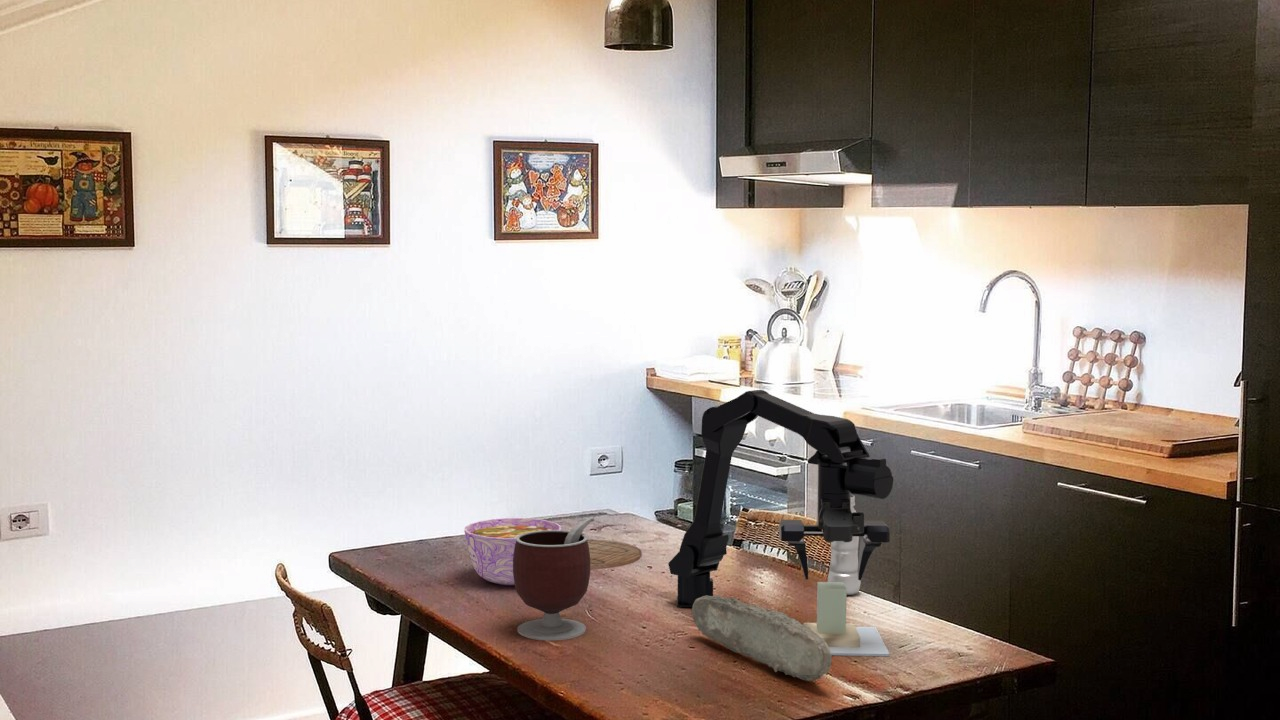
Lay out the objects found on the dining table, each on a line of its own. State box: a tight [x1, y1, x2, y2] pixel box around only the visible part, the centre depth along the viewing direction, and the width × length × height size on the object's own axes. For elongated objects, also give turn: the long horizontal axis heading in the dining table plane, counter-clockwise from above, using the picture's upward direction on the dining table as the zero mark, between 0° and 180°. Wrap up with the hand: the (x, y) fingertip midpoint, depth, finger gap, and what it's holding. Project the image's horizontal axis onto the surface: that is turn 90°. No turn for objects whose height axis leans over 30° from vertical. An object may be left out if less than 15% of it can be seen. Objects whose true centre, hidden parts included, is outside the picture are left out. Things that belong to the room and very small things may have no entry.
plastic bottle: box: [827, 494, 862, 596], centre depth 259 cm, size 6×7×20 cm
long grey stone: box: [691, 595, 833, 682], centre depth 215 cm, size 35×5×10 cm, turn 36°
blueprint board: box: [829, 626, 891, 657], centre depth 228 cm, size 18×16×1 cm
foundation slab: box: [802, 622, 860, 647], centre depth 228 cm, size 9×9×2 cm
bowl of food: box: [463, 517, 562, 586], centre depth 267 cm, size 20×20×12 cm
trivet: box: [587, 539, 643, 570], centre depth 289 cm, size 25×25×2 cm
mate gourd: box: [513, 516, 595, 641], centre depth 233 cm, size 16×14×20 cm
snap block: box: [816, 581, 848, 634], centre depth 228 cm, size 5×5×8 cm
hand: (832, 579), depth 227 cm, fingers open, 9 cm apart
